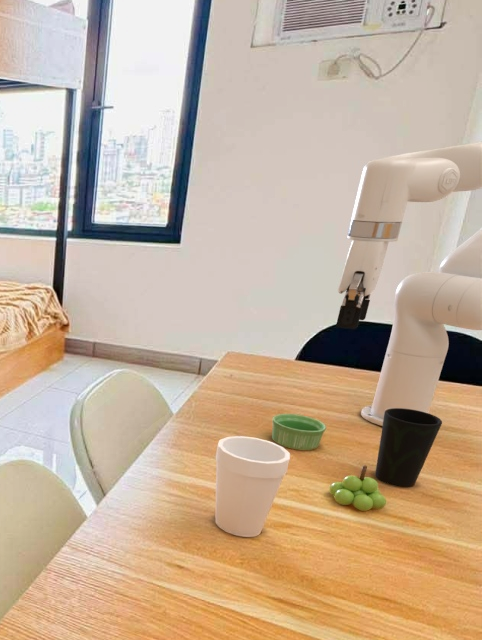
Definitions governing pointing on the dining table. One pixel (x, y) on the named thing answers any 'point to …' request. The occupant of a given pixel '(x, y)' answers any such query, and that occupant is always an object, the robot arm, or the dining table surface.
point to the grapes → (358, 492)
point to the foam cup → (247, 483)
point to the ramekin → (297, 431)
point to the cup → (405, 445)
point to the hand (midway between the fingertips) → (350, 323)
